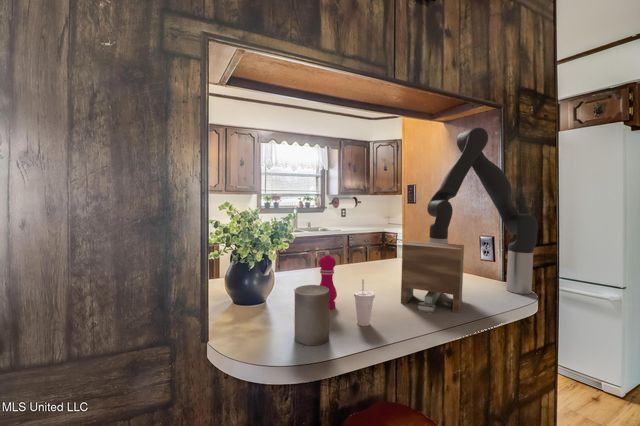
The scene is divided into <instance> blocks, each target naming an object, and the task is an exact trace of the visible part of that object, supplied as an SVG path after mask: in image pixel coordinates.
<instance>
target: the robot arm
mask: <svg viewBox="0 0 640 426" xmlns="http://www.w3.org/2000/svg"><path fill="white" fill-rule="evenodd" d="M488 142H489V134H488V132H487V130H486V129H485V128H483V127H478V126H477V127H473V128H470V129H467V130H463V131H462V132H460V133H459V134H458V136H457V137H456V145H457V149H458V150H459V151H460V153H461V154H460V156H459V158H458V159H457V160H456V161H455V162H454V164H453V165H452V166H451V168H450V169H449V170H448V171H447V173H446V174H445V176H444V179H442V182H441V184H440V187H439V188H438V190H436V192H435V193H434V194H433V196H431V198H430V199H429V202H428V203H427V210H426V211H427V213H428V214H429V216H431V217H433V218H435V220H434V222H433V223H431V224H430V226H429V239H428V242H432V243H444V244H449V238H448V237H449V227H450V224H451V220H452V216H453V205H452V204H451V202H450V200H451V199H454V198H456V196H457V194H458V193H459V191H460V189H461V186H462V184H463V182H464V181H465V178H466V176H467V174H468V173H469V171H470V170H471V169H472V170H473V171H474V172H475V174H476V176H477V178H478V179H479V181H480V183H481V184H482V186H483V188H484V190H485V191H486V192H487V193H486V194H488V196H489V198H490V200H491V201H492V204H494V206H495V208H496V209H497V212H498V214H499V216H500V219H501V221H502V223H503V225H504V228H505V229H506V230H507V232H509V233H510V234H512V235H515V240H514V241H513V242H511V243H509V244H508V246H507V267H506V268H507V269H506V286H505V287H506V288H505V289H506V291H507V292H511V293H515V294H520V295H521V294H522V295H531V294H532V286H533V270H534V269H533V267H534V265H533V264H534V263H533V262H534V249H535V247H536V246H537V240H538V239H537V237H538V231H539V230H538V229H539V226H538V225H539V224H538V220H537V218H536V217H535V216H534V215H532V214H528V213H521V212H519V211H518V209H517V208H516V206H515V204H514V202H513V200H512V198H513V197H512V193H513V192H512V184H511V182H510V181H509V179H508V177H507V175H506V174H505V172H504V170H502V169H501V168H500V166H497V164H495V163H493V162H492V161H491V160H490V159H488V158H487V157H486V155H485V154H484V152H483V151H484V149H485V148H486V146H487V145H488Z"/></svg>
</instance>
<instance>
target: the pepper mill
mask: <svg viewBox="0 0 640 426" xmlns="http://www.w3.org/2000/svg"><path fill="white" fill-rule="evenodd" d="M336 262H337V261H336V259H335V257H333V256H332V255H331V253H330V251H328V250H327V251H325V252H324V255H323V256H320V258H319V260H318V266H319V267H320V269H319V270H320V271H319V273H320V275H321V280H320V283H319V285H320V286H324V287H327V288H328V289H329V310H334V309H335V308H336V301H335V300H336V299H337V296H338V293H337V289H336V287H335V284H334V281H333V276H334V274H335V269H334V268H335V267H336V265H337V264H336Z"/></svg>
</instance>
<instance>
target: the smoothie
mask: <svg viewBox="0 0 640 426" xmlns="http://www.w3.org/2000/svg"><path fill="white" fill-rule="evenodd" d="M364 288H365V279H364V278H362V279H361V290H360V289H359V290H355V291H354V293H353V297H354V302H355V310H356V320H357V325H358V326H360V327H368V326H370V324H371V317H372V310H373V302H374V298H376V297H375V295H376V294H375V293H374V291H370V290H365V289H364Z"/></svg>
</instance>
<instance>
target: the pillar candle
mask: <svg viewBox="0 0 640 426" xmlns="http://www.w3.org/2000/svg"><path fill="white" fill-rule="evenodd" d="M293 291H294V340H295V342H297V343H300V344H303V345H306V346H319V345H322V344H324V343H327V342H328V341H329V339H330V309H329V289H328V288H327V287H324V286H320V284H319V285H318V284H305V285H301V286H298V287H296V288H294V289H293Z"/></svg>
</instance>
